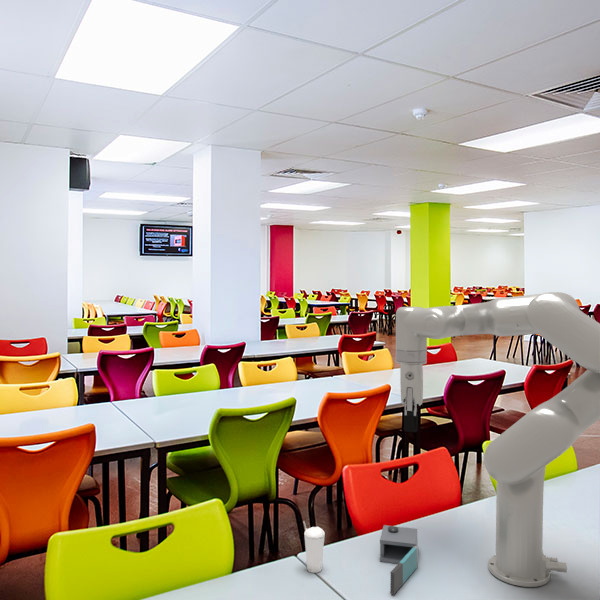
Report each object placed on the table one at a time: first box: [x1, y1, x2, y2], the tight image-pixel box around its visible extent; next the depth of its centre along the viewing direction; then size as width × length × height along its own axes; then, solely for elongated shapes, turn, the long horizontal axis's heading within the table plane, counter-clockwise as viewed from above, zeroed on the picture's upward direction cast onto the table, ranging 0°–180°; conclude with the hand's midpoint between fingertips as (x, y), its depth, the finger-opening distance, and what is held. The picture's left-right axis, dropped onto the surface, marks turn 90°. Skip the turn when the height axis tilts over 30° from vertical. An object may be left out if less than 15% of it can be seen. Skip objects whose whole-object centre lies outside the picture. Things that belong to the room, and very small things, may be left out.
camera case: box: [379, 524, 418, 565], centre depth 128 cm, size 8×8×6 cm
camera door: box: [389, 545, 419, 595], centre depth 117 cm, size 14×1×4 cm, turn 147°
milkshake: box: [302, 520, 326, 574], centre depth 122 cm, size 4×5×10 cm
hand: (410, 430), depth 136 cm, fingers closed
